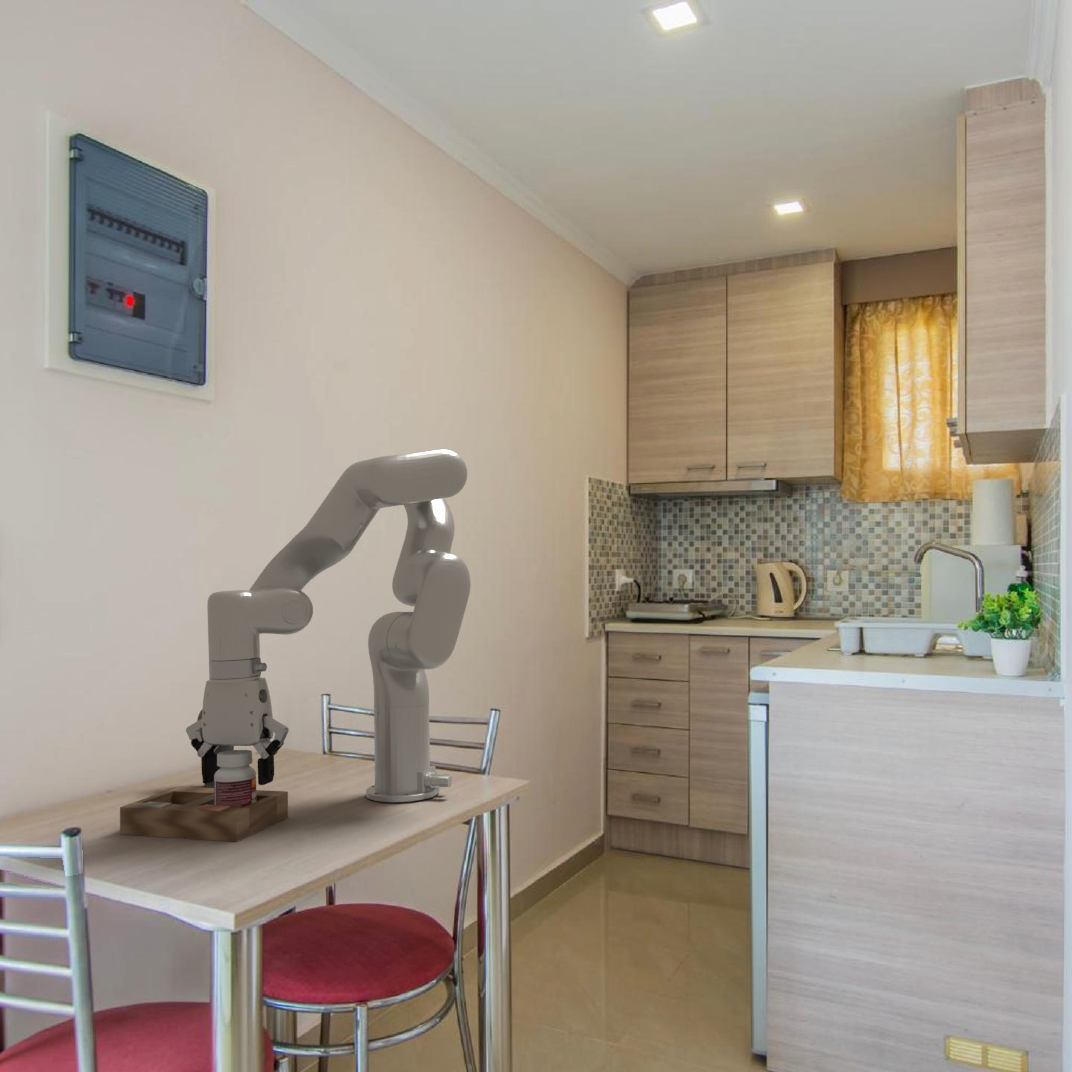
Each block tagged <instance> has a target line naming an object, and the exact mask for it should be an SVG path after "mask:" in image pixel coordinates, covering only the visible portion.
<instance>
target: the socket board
mask: <svg viewBox="0 0 1072 1072" xmlns="http://www.w3.org/2000/svg"><path fill="white" fill-rule="evenodd" d="M287 818H289V792H288V791H283V790H280V791H279V790H263V789H256V802H254V803H252V804H250V805H247V806H245V807H243V808H238V807H230V806H225V805H214V788H205V787H201V786H200V787H199V786H198V787H195V786H178V787H175V788H172V789H169V790H166V791H163V792H160V793H157V794H154V795H151V796H148V797H145V798H142V799H139V800H137V801H134V802H131V803H128V804H126V805H122V806H120V807H119V834H120V835H127V836H129V835H130V836H145V837H156V838H157V837H159V838H163V837H164V838H171V839H172V838H176V839H189V840H191V839H192V840H209V841H222V842H234V843H235V842H236V843H237V842H239V841H241V840H243V839H246V838H247V837H249V836H251V835H254V834H255V833H257V832H259V831H262V830H264V829H266V828H268V827H270V826H272V825H275V824H276V823H278V822H280V821H283V820H285V819H287Z"/></svg>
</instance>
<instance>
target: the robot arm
mask: <svg viewBox="0 0 1072 1072" xmlns="http://www.w3.org/2000/svg"><path fill="white" fill-rule="evenodd" d="M467 480H468V468H467V465H466V463H465V461H464V459H463V458H462V457H461V456H460V455H459V454H458V453H456V452H455V451H453V450H450V449H448V448H447V449H446V448H439V449H432V450H426V451H425V450H424V451H417V452H412V453H405V454H403V453H402V454H395V455H392V454H391V455H383V456H378V457H374V458H373V457H372V458H369V459H365V460H359V461H357V462H355V463H352V464H351V465H349V466H348V467H347V468H346V469H345V470H344V471H343V472H342V474H341V476H340V477H339V478H338V480H337V481H336V482H335V484H334V485H333V487H332V488H331V490H330V491H329V492H328V494H327V495H326V497H325V498H324V500H323V501H322V502H321V504H320V505H319V507H318V508H317V510H315V513H314V514H313V515H312V517H311V518H310V520H309V521H308V523H307V524H306V525H305V526H304V527H303V528H302V529H301V530H300V531H299V532H298V533H297V534H296V535H295V536H294V537H292V538H291V540H290V541H289V542H288V543H287V544H285V546H284V547H283V548H282V549H280V550H279V552H277V554H275V556H274V557H273V558H272V559H271V560H270V561H269V562H268V563H267V565H266V566H265V567H264V568H263V570H262V571H261V573H260V574H259V575H258V576H257V579H256V580H255V581H254V582H253V584H252V585H251V587H250V588H249V590H244V589H243V590H242V589H241V590H221V591H220V590H219V591H215V592H212V593H211V594H210V595H209V596H208V598H207V606H206V607H207V638H208V639H207V642H208V672H209V673H208V676H209V677H208V678H209V680H206V681H205V682H206V683H205V687H204V693H203V700H202V709H201V710H202V719H200V720H199V721H197V720H196V722H194V723H192V724H191V725H189V726H186V729H185V733H186V734H187V736H188V739H189V740H190V745H191V747H193V748H194V750H195V751H196V753H197V757H199V758H200V759H201V760H200V761H201V764H200V765H201V776H202V783H203V784H204V785H205V784H207V783H210V782H212V781H214V775H215V773H216V771H217V770H218V766H217V754H214V752H215V750H216V749H217V747H218V746H234V747H251V746H253V748H254V749H255V751H256V752H257V753H258V754H259V756H260V758H258V759H257V783H258V785H259V786H265V785H267V784H270V783H272V782H273V781H274V776H275V755H277V754H278V751H279V750H280V749H281V748H282V747H283V746H284V744H285V740H286V737H287V735H288V733H289V727H288V726H286V725H284V724H283V723H282V722H279V721H278V720H275V719H274V718H273V717H274V716H273V708H272V699H271V694H270V691H269V686H268V682H267V679H266V677H261V675H262V672H266V671H267V667H268V666H267V663H266V662H261V653H260V652H261V651H260V650H261V648H260V647H261V646H260V645H261V644H260V643H261V642H260V635H262V634H270V635H281V636H283V635H285V636H287V635H293V634H296V633H299V632H300V631H303V630H304V629H305V628H306V627H307V626H308V625H309V623H310V622H311V621H312V618H313V614H314V605H313V603H312V601H311V598H310V597H309V595H307V594H306V593H305V592H304V591H302V590H303V589H304V588H305V587H306V586H307V585H308V584H309V583H310V582H311V581H312V580H313V579H315V577H317V576H318V575H319V574H321V573H322V572H324V571H326V570H327V569H329V568H331V567H333V566H335V565H337V564H338V563H340V562H341V561H342V560H344V559H345V558H346V557H347V556H349V555H350V554H351V552H352V551H353V550H354V548H355V546H356V545H357V543H358V542H359V540H360V538H361V537H362V536H363V534H364V533H365V531H366V530H367V528H368V527H369V525H370V523H371V522H372V521H373V519H374V518H375V516H376V515H377V513H378V512H379V511H380V509H383V508H389V507H396V506H404V509H405V511H406V517H407V525H406V531H405V532H406V533H405V537H404V540H403V543H402V546H401V551H400V553H399V557H398V561H397V563H396V567H395V570H394V573H393V577H392V582H391V583H392V584H391V585H392V592H393V596H394V597H395V598H396V599H397V600H398V601H399V602H400V603H402V604H403V605H405V606H408V607H409V606H410V607H414V608H413V611H393V612H389V613H386V614H383V615H382V616H380V617H379V618H378V619H376V620H375V622H374V623H373V624H372V626H371V628H370V630H369V634H368V639H367V646H368V647H367V648H368V655H369V660H370V666H371V670H372V679H373V681H372V683H373V724H374V725H373V726H374V727H373V733H374V734H373V737H374V740H373V742H374V743H373V744H374V747H373V749H374V784H373V785H370V786H368V787H367V788H366V790H365V796H366V798H367V799H369V800H371V801H375V802H381V803H408V802H418V801H423V800H427V799H431V798H433V797H435V796H437V795H438V794H439V793H440V788H451V787H452V785H453V783H452V782H453V779H452V778H453V777H452V776H451V775H450V774H449V773H442V774H441V773H438V772H436V765H431V757H430V756H431V752H430V749H431V748H430V738H431V737H430V689H429V688H430V687H429V682H428V678H427V673H426V672H425V670H434V669H437V668H440V667H441V666H443V665H444V664H445V663H447V661H448V660H449V659H450V657H451V655H452V653H453V651H454V650H455V648H456V644H457V641H458V638H459V634H460V631H461V628H462V623H463V619H464V616H465V613H466V608H467V606H468V601H469V597H470V593H471V585H472V584H471V575H470V571H469V569H468V566H467V563H465V562H464V560H463V559H462V558H461V557H460V556H458V555H456V554H454V553H451V550H452V545H453V541H454V536H455V520H454V516H453V514H452V510H451V508H450V506H449V503H448V501H447V500H446V499H447V498H451V497H452V498H453V497H454V496H456V495H458V494H459V493H460V492H461V491H462V490H463V489H464V487H465V485H466V484H467ZM201 729H202V735H203V738H202V737H201V736H200V730H201ZM272 739H273V740H272ZM271 740H272V741H271Z"/></svg>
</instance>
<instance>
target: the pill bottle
mask: <svg viewBox="0 0 1072 1072" xmlns="http://www.w3.org/2000/svg"><path fill="white" fill-rule="evenodd" d="M252 764H253V751H252V750H250V749H234V750H229V751H223V752H220V753H218V754H217V766H219V767H221V768H220V769H219V770H217V771H216V773H215V775H214V805H225V806H230V807H238V808H243V807H245V806H247V805H250V804H252V803H254V802H256V790H257V772H256V770H255V768H254V767H252V766H250V765H252Z"/></svg>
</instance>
